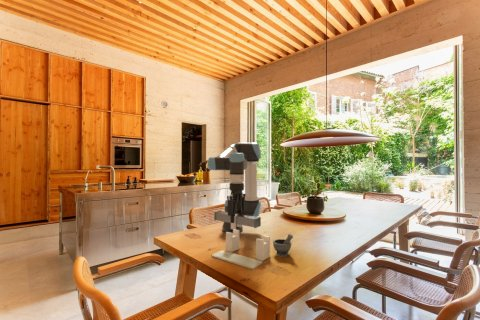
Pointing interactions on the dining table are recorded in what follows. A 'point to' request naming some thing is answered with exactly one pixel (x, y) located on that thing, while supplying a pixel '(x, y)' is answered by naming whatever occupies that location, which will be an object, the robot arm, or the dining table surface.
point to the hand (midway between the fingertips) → (236, 227)
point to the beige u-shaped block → (263, 248)
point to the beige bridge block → (232, 240)
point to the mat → (237, 259)
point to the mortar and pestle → (282, 246)
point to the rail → (238, 219)
